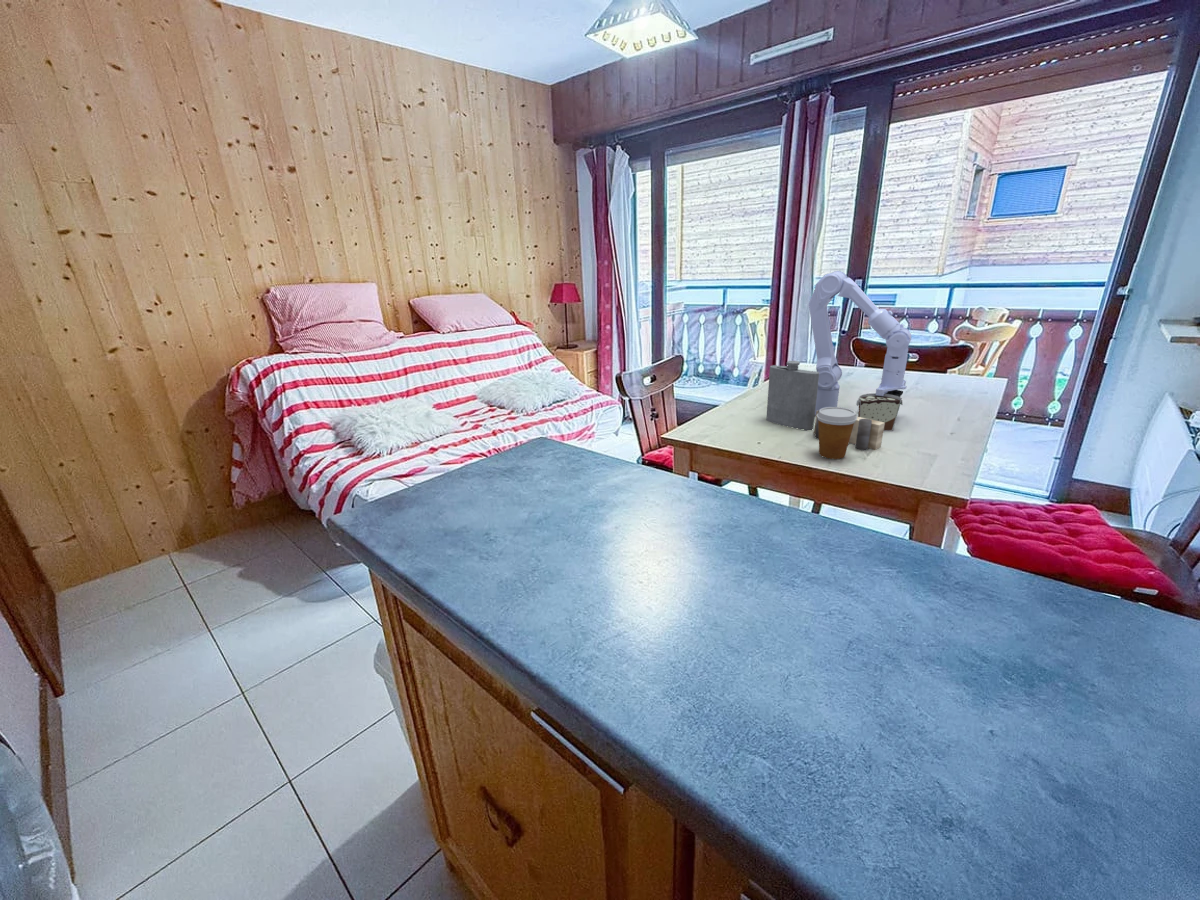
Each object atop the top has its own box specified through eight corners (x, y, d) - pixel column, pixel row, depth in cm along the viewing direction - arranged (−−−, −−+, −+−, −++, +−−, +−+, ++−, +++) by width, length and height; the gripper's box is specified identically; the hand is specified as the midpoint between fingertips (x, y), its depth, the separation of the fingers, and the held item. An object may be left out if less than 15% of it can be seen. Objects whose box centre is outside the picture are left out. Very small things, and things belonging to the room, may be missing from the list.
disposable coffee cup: (832, 464, 128) (838, 420, 123) (804, 452, 136) (809, 410, 131) (860, 457, 131) (866, 413, 127) (831, 445, 139) (836, 404, 135)
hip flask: (815, 428, 152) (822, 363, 145) (807, 432, 150) (814, 366, 143) (770, 417, 164) (774, 357, 157) (762, 420, 162) (766, 359, 154)
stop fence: (808, 436, 147) (810, 410, 144) (819, 431, 150) (822, 405, 147) (869, 452, 133) (874, 424, 130) (880, 446, 136) (885, 419, 133)
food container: (888, 424, 152) (894, 392, 149) (898, 430, 147) (903, 398, 143) (846, 424, 154) (850, 393, 150) (853, 431, 148) (858, 399, 144)
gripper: (896, 376, 142) (888, 422, 147) (919, 367, 150) (911, 411, 155) (871, 373, 147) (864, 416, 152) (894, 364, 155) (887, 406, 160)
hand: (886, 413), depth 154 cm, fingers closed
